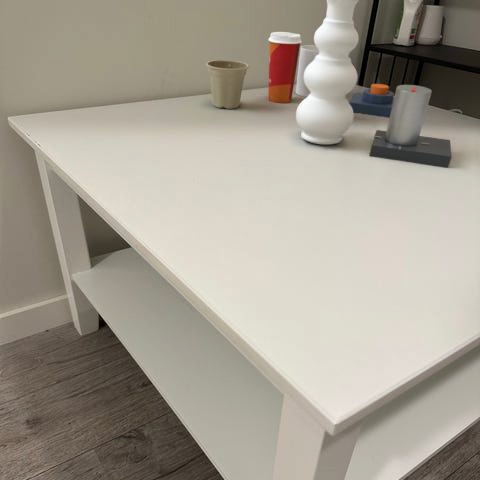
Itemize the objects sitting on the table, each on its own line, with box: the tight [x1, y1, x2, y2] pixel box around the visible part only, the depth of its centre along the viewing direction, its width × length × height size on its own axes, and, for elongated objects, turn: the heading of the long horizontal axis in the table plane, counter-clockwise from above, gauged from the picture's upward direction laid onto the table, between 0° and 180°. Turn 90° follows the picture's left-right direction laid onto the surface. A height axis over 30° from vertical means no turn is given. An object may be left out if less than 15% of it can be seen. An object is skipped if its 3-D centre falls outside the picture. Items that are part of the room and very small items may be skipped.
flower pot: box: [205, 59, 250, 110], centre depth 108 cm, size 9×9×9 cm
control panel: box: [369, 129, 453, 168], centre depth 90 cm, size 14×10×2 cm
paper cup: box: [267, 31, 303, 104], centre depth 113 cm, size 8×8×14 cm
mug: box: [295, 44, 319, 98], centre depth 120 cm, size 12×8×10 cm, turn 86°
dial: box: [385, 84, 433, 146], centre depth 87 cm, size 6×6×9 cm
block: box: [348, 88, 395, 119], centre depth 113 cm, size 12×10×4 cm
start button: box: [370, 83, 390, 95], centre depth 111 cm, size 4×4×2 cm
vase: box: [295, 0, 360, 146], centre depth 87 cm, size 11×11×25 cm
